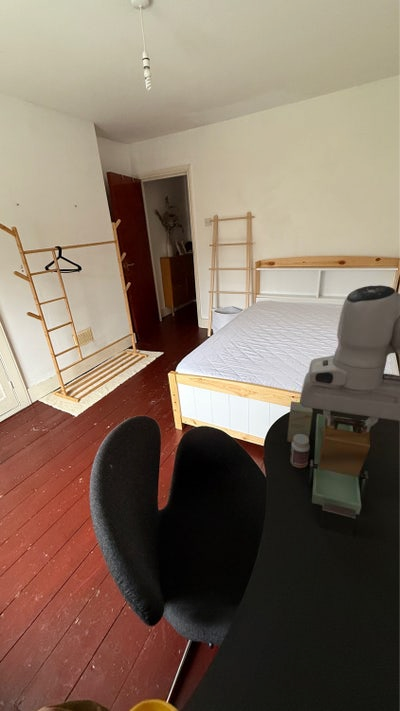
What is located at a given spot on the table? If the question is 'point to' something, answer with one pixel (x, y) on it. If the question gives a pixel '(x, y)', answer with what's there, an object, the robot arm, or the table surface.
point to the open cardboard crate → (343, 447)
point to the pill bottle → (300, 451)
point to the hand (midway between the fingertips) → (347, 427)
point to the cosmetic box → (299, 420)
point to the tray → (333, 478)
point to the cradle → (339, 510)
